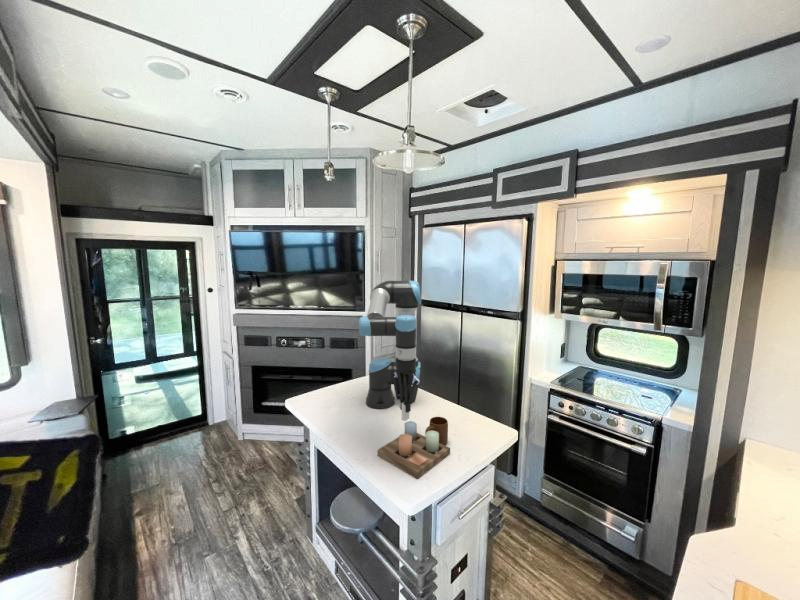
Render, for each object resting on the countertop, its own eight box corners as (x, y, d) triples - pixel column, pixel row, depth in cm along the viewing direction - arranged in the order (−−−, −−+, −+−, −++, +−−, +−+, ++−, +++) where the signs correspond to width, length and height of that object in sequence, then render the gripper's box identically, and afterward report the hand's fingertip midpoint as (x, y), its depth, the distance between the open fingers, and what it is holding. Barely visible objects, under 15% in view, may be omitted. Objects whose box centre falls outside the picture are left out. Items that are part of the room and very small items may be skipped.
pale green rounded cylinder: (430, 443, 131) (431, 429, 130) (441, 448, 127) (441, 433, 127) (423, 448, 127) (423, 434, 126) (433, 453, 124) (433, 438, 123)
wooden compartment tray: (410, 435, 141) (410, 428, 141) (450, 453, 128) (450, 446, 128) (377, 455, 127) (377, 448, 126) (417, 479, 113) (417, 470, 113)
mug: (433, 454, 128) (433, 431, 127) (418, 446, 133) (418, 424, 132) (451, 442, 136) (451, 420, 135) (436, 435, 142) (437, 414, 140)
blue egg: (409, 433, 138) (409, 420, 137) (419, 437, 135) (419, 424, 134) (401, 438, 134) (402, 424, 134) (411, 442, 131) (411, 428, 130)
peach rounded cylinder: (404, 447, 128) (404, 432, 127) (414, 452, 125) (414, 437, 124) (395, 452, 124) (396, 437, 124) (405, 457, 121) (406, 442, 120)
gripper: (385, 356, 122) (385, 417, 124) (412, 363, 113) (412, 428, 116) (399, 352, 127) (399, 410, 130) (426, 359, 119) (425, 421, 121)
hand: (405, 419), depth 123 cm, fingers closed
